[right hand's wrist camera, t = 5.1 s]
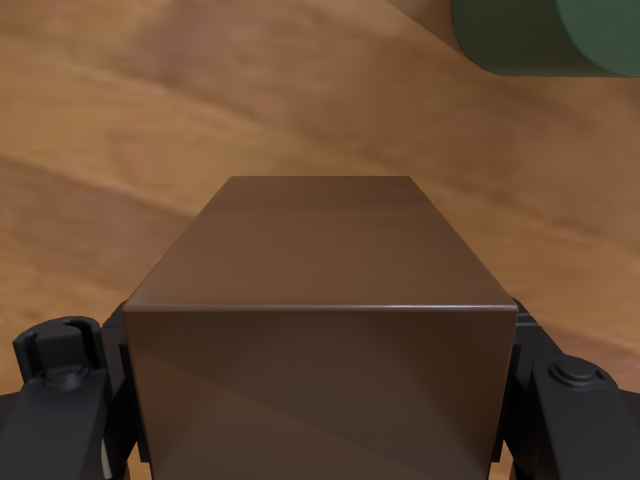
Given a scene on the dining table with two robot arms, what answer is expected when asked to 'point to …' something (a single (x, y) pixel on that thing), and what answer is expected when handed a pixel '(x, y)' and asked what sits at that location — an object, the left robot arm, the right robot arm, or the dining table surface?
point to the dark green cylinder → (551, 36)
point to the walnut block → (320, 338)
